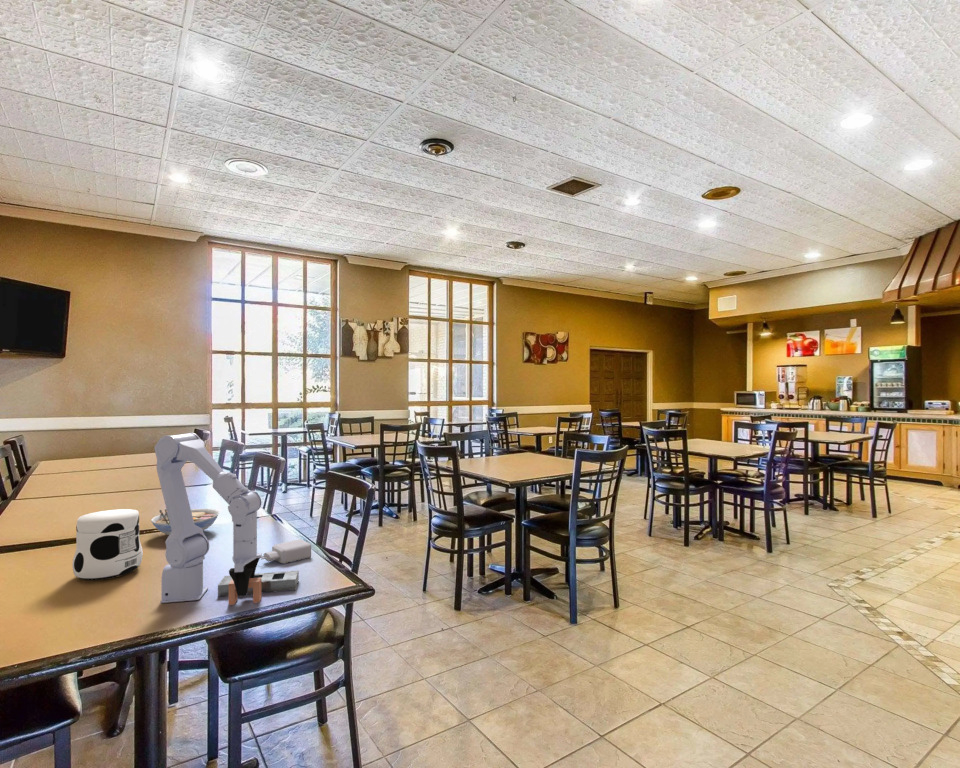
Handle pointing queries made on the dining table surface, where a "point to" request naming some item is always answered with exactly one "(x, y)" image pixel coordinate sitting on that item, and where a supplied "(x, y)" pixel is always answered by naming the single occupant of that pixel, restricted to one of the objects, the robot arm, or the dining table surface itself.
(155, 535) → the dining table surface
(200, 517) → the ramen bowl
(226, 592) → the gray rectangular frame
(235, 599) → the orange u-shaped block
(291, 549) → the charger
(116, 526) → the milk container
